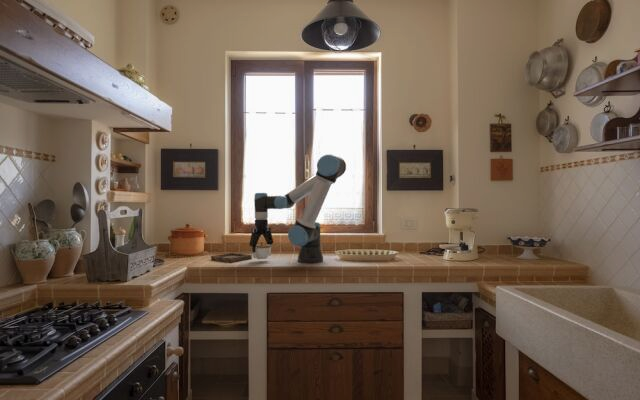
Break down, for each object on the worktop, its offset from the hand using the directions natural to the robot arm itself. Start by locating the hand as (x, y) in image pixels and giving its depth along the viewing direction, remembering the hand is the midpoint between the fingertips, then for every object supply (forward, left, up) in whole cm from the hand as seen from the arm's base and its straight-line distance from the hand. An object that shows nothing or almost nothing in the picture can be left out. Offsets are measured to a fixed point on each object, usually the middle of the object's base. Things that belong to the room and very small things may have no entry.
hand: (261, 256), depth 230 cm
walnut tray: (+20, +5, -3) cm, 21 cm away
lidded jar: (0, 0, -1) cm, 1 cm away
